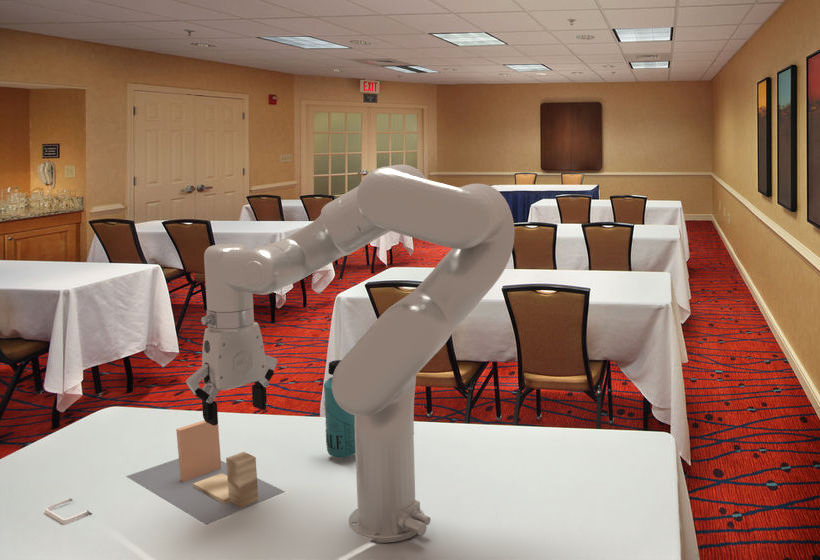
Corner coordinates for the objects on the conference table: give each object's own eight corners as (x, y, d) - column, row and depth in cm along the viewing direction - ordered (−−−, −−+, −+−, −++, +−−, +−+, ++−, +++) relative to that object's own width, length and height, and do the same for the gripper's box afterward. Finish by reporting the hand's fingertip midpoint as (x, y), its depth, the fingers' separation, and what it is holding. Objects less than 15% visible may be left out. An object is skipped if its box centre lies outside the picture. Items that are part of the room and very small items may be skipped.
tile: (221, 468, 152) (217, 418, 150) (183, 481, 146) (179, 430, 144) (217, 466, 153) (214, 417, 151) (180, 479, 147) (176, 428, 145)
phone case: (65, 527, 133) (144, 495, 144) (64, 520, 133) (144, 488, 144) (44, 515, 138) (122, 485, 149) (43, 508, 137) (122, 478, 149)
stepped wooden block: (264, 498, 139) (261, 455, 137) (234, 510, 135) (231, 465, 133) (221, 476, 148) (218, 436, 147) (193, 487, 144) (190, 445, 142)
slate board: (285, 496, 141) (284, 491, 141) (206, 529, 130) (206, 524, 130) (201, 455, 161) (200, 450, 160) (126, 481, 149) (126, 476, 149)
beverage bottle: (361, 451, 160) (358, 356, 157) (356, 465, 154) (352, 366, 150) (330, 451, 161) (325, 356, 157) (323, 465, 154) (318, 366, 151)
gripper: (196, 331, 123) (203, 435, 127) (286, 312, 135) (290, 407, 139) (172, 324, 128) (179, 423, 132) (260, 306, 141) (264, 398, 144)
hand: (236, 415), depth 135 cm, fingers open, 9 cm apart
